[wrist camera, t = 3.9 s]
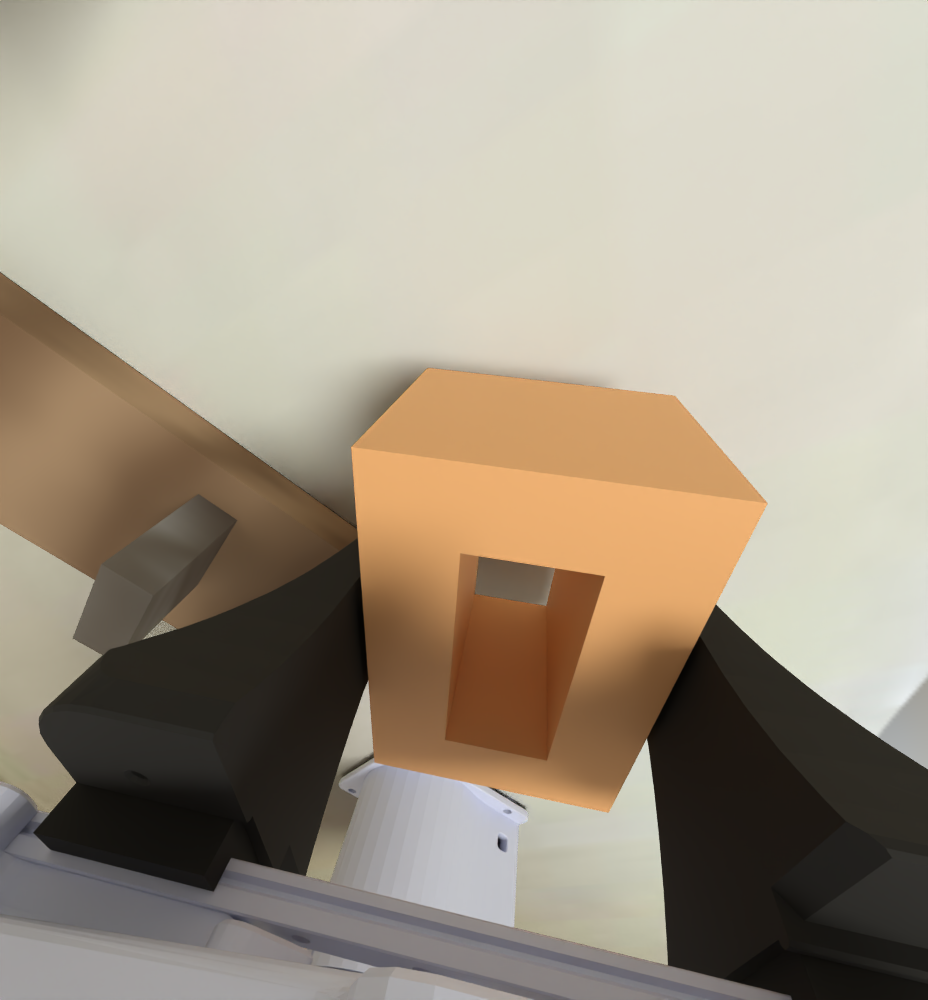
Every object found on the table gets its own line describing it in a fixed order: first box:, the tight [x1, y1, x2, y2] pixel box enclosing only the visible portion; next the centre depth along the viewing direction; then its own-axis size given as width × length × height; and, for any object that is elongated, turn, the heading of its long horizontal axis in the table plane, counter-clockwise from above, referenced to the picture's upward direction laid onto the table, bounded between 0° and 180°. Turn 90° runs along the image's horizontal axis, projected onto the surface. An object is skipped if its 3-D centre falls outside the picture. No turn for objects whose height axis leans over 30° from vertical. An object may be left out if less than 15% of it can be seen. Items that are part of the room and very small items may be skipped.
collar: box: [351, 368, 768, 813], centre depth 11 cm, size 6×9×5 cm, turn 176°
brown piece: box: [0, 273, 358, 655], centre depth 16 cm, size 18×10×6 cm, turn 51°
